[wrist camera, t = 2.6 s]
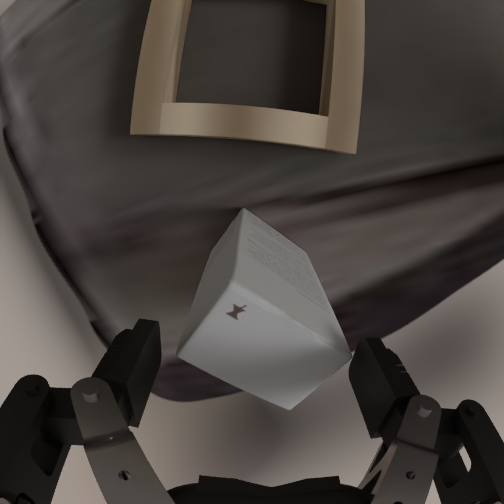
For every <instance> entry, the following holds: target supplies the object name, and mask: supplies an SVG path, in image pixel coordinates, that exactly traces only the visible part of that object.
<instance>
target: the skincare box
mask: <svg viewBox="0 0 504 504" xmlns="http://www.w3.org/2000/svg"><path fill="white" fill-rule="evenodd" d="M176 355H177V356H178V357H179V358H181V359H183V360H185V361H186V362H188V363H190V364H192V365H194V366H196V367H198V368H200V369H202V370H204V371H205V372H207V373H209V374H211V375H213V376H215V377H217V378H219V379H221V380H223V381H225V382H227V383H229V384H231V385H233V386H235V387H238V388H240V389H242V390H244V391H246V392H248V393H251V394H253V395H255V396H258V397H260V398H262V399H264V400H267V401H269V402H271V403H273V404H276V405H278V406H281V407H283V408H285V409H287V410H291V409H292V408H293V407H294V406H296V405H297V404H298V403H299V402H301V401H302V400H303V399H304V398H306V397H307V396H308V395H309V394H310V393H311V392H313V391H314V390H315V389H316V388H318V387H319V386H320V385H321V384H322V383H323V382H325V381H326V380H327V379H328V378H329V377H331V376H332V375H333V374H334V373H335V372H336V371H337V370H339V369H340V368H341V367H342V366H343V365H344V364H346V363H347V362H348V361H349V360H350V359H351V358H352V354H351V351H350V349H349V347H348V344H347V342H346V340H345V337H344V335H343V333H342V330H341V328H340V326H339V323H338V321H337V319H336V317H335V314H334V312H333V310H332V308H331V305H330V303H329V301H328V299H327V296H326V294H325V292H324V290H323V288H322V285H321V283H320V281H319V279H318V277H317V275H316V272H315V270H314V268H313V266H312V264H311V262H310V260H309V257H308V255H307V253H306V252H305V251H303V250H302V249H301V248H299V247H298V246H297V245H295V244H294V243H292V242H291V241H290V240H288V239H287V238H286V237H284V236H283V235H281V234H280V233H279V232H277V231H276V230H275V229H273V228H272V227H270V226H269V225H268V224H266V223H265V222H263V221H262V220H260V219H259V218H258V217H256V216H255V215H253V214H252V213H251V212H249V211H248V210H246V209H245V208H242V209H241V211H240V212H239V213H238V215H237V216H236V217H235V219H234V220H233V221H232V223H231V224H230V225H229V227H228V228H227V229H226V231H225V232H224V234H223V235H222V237H221V238H220V239H219V241H218V242H217V244H216V245H215V247H214V248H213V249H212V251H211V253H210V256H209V259H208V261H207V264H206V267H205V270H204V272H203V275H202V278H201V281H200V284H199V286H198V289H197V292H196V295H195V298H194V301H193V304H192V306H191V309H190V312H189V315H188V318H187V321H186V324H185V327H184V330H183V333H182V336H181V339H180V342H179V345H178V348H177V351H176Z"/></svg>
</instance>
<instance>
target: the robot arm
mask: <svg viewBox="0 0 504 504" xmlns="http://www.w3.org/2000/svg"><path fill="white" fill-rule="evenodd" d="M161 355H162V353H161V340H160V327H159V322H158V321H153V320H147V319H139V320H138V321H137V323H136V325H135V326H134V328H133V330H130V329H125V330H123V331H122V332H120V333H119V334H118V335H116V337H115V338H114V340H113V342H112V343H111V345H110V346H109V348H108V350H107V352H106V353H105V354H104V356H103V358H102V359H101V361H100V363H99V364H98V366H97V368H96V370H95V371H94V373H93V374H92V376H91V377H88V378H84V379H81V380H79V381H77V382H76V383H75V384H74V385H73V386H72V388H53V387H50V386H49V384H48V382H47V380H46V379H45V378H44V377H42V376H39V375H27V376H25V377H22V378H21V379H20V380H19V381H18V382H17V383H16V384H15V386H14V387H13V389H12V390H11V392H10V393H9V395H8V396H7V398H6V399H5V401H4V402H3V404H2V406H1V408H0V504H51V501H52V498H53V495H54V492H55V489H56V486H57V483H58V480H59V477H60V474H61V471H62V468H63V465H64V463H65V460H66V458H67V455H68V452H69V450H70V447H71V445H83V446H84V449H85V452H86V455H87V458H88V460H89V463H90V466H91V468H92V471H93V473H94V476H95V478H96V480H97V482H98V485H99V487H100V489H101V491H102V494H103V496H104V498H105V500H106V502H107V504H425V501H426V499H427V495H428V493H429V489H430V486H431V483H432V479H433V480H434V483H435V486H436V488H437V492H438V494H439V498H440V501H441V504H504V442H503V440H502V439H501V437H500V435H499V433H498V432H497V430H496V428H495V426H494V425H493V423H492V421H491V420H490V418H489V416H488V415H487V413H486V411H485V410H484V408H483V407H482V406H481V405H480V404H479V403H478V402H476V401H473V400H463V401H462V402H461V403H460V404H459V406H458V407H457V408H456V409H444V408H441V407H440V405H439V404H438V402H437V401H436V400H434V399H433V398H431V397H429V396H426V395H421V394H420V392H419V391H418V389H417V387H416V386H415V384H414V382H413V380H412V379H411V377H410V375H409V374H408V373H407V371H406V369H405V367H404V366H403V364H402V362H401V361H400V359H399V357H398V356H397V355H396V354H395V353H393V352H392V351H391V350H390V349H386V347H385V346H384V344H383V342H382V341H381V339H380V338H379V337H362V338H360V340H359V342H358V345H357V347H356V350H355V353H354V356H353V358H352V361H351V364H350V367H349V380H350V382H351V385H352V388H353V390H354V393H355V396H356V399H357V401H358V404H359V407H360V409H361V412H362V415H363V418H364V421H365V423H366V426H367V429H368V432H369V435H370V437H371V439H372V438H378V437H382V439H383V442H382V443H381V445H380V447H379V448H378V451H377V453H376V455H375V457H374V459H373V461H372V463H371V465H370V467H369V469H368V471H367V473H366V475H365V477H364V478H363V480H362V481H361V483H360V484H359V486H358V487H353V486H350V485H345V484H340V480H339V476H332V477H323V478H309V479H304V480H300V481H296V482H293V483H288V484H284V485H280V486H276V487H268V486H263V485H259V484H254V483H250V482H246V481H242V480H238V479H234V478H221V477H211V476H202V475H199V483H193V484H187V485H182V486H178V487H175V488H172V489H170V490H167V491H166V489H165V488H164V486H163V485H162V483H161V482H160V480H159V478H158V477H157V475H156V473H155V472H154V470H153V468H152V467H151V465H150V463H149V462H148V460H147V458H146V457H145V455H144V453H143V451H142V449H141V447H140V446H139V444H138V442H137V440H136V438H135V436H134V434H133V433H132V432H130V430H129V428H128V426H133V427H137V428H138V427H139V424H140V420H141V418H142V415H143V412H144V409H145V406H146V403H147V400H148V397H149V395H150V392H151V389H152V386H153V384H154V381H155V378H156V375H157V373H158V370H159V367H160V363H161ZM463 446H464V447H465V449H466V451H467V453H468V455H469V457H470V460H471V469H470V471H469V472H468V471H467V469H466V467H465V464H464V462H463V460H462V457H461V455H460V453H459V450H460V449H461V448H462V447H463Z"/></svg>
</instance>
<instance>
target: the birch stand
mask: <svg viewBox="0 0 504 504" xmlns="http://www.w3.org/2000/svg"><path fill="white" fill-rule="evenodd" d="M303 1H309V2H314V3H319V4H324V5H327V9H326V29H325V45H324V60H323V73H322V85H321V96H320V106H319V115H315V114H308V113H302V112H295V111H288V110H281V109H273V108H264V107H254V106H242V105H229V104H210V103H176V96H177V88H178V80H179V73H180V66H181V59H182V53H183V46H184V41H185V35H186V29H187V24H188V19H189V14H190V9H191V4H192V0H152V1H151V5H150V9H149V14H148V18H147V22H146V27H145V31H144V36H143V41H142V46H141V52H140V57H139V63H138V70H137V76H136V83H135V90H134V98H133V107H132V117H131V127H130V134H131V135H143V136H188V137H209V138H225V139H238V140H249V141H259V142H268V143H277V144H285V145H293V146H300V147H307V148H313V149H320V150H326V151H332V152H337V153H344V154H356V148H357V140H358V131H359V121H360V110H361V98H362V85H363V67H364V40H365V0H303Z"/></svg>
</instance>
